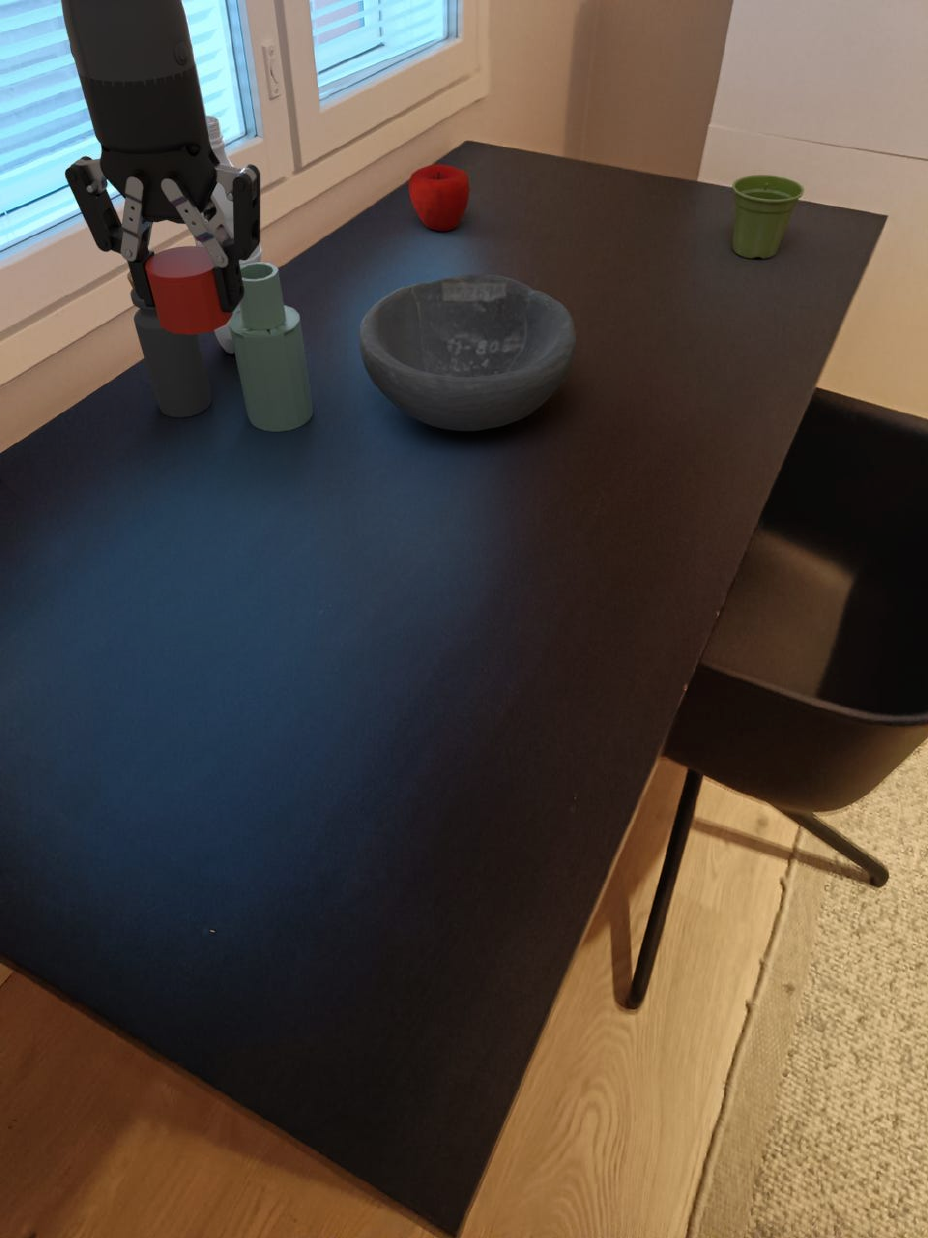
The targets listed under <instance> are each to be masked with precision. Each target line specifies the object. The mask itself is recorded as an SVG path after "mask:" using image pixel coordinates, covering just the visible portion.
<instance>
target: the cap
mask: <svg viewBox="0 0 928 1238" xmlns="http://www.w3.org/2000/svg"><path fill="white" fill-rule="evenodd" d="M154 254H155V255H153V256H152V257H150V258H149V259H148V260H147V262H146V264H145V268H146V272H147V276H148V280H149V284H150V288H151V291H152V295H153V299H154V303H155V306H156V310H157V314H158V318H159V321H160V325H161V327H162V328H163V329H165V330H168V331H170V332H172V333H174V334H187V335H194V334H197V335H199V334H204V333H210V332H214V330H215V329H217V328H220V327H222V326H224V325H226V324H227V323H228V321H229V320H230V318H231V317H232V316H233V313H228V312H222V310H221V305H220V301H219V296H218V291H217V286H216V282H215V277H214V272H213V266H214V265H215V263H214V262H213V260H212V259H211V257H210V255H209V254H208V252H207V251H206V249H205V247H200V246H196V245H185V246H176V247H170V248H167V249H164V250H161V251H158V252H157V253H154Z"/></svg>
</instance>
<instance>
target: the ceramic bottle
mask: <svg viewBox="0 0 928 1238" xmlns="http://www.w3.org/2000/svg"><path fill="white" fill-rule="evenodd" d="M240 270H241V275H242V281H243V286H244V291H245V292H244V296H243V299H242V300H241V301H240V303H239V305H240V310H241V311H239V312H237V313H235V314H234V315H233V316H232V317H231V318H230V322H229V328H230V332H231V337H232V342H233V347H234V352H235V353H234V357H235V362H236V366H237V371H238V375H239V380H240V386H241V390H242V395H243V400H244V404H245V409H246V413H247V416H248V421H249V422H250V423H251V425H252V426H254V427H255V428H256V429H259V430H261V431H265V432H272V433H281V432H287V431H292V430H295V429H298V428H300V427H302V426H304V425H305V424H306V423H308V422H309V421H310V420H311V418H312V417H313V414H314V408H313V398H312V391H311V384H310V378H309V371H308V364H307V357H306V350H305V342H304V337H303V336H304V335H303V330H302V324H301V315H300V314H299V312H297V310H296V309H295V308H293V307H290V306H288V305H285V303H284V297H283V291H282V290H283V289H282V284H281V278H280V271H279V269H278V267H277V265H275V264H272V263H270V262H263V261H262V262H261V261H260V262H254V263H248V264H244V265H242V266H240Z"/></svg>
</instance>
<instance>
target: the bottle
mask: <svg viewBox="0 0 928 1238" xmlns="http://www.w3.org/2000/svg"><path fill="white" fill-rule="evenodd" d="M126 277H127V280H128V282H129V283H130V286H131V288H132V289H131V291H130V294H129V295H130V299H131V302H132V305H134V306H135V307H136V308H137V309H138V310H137V311H136V312H135V314H134V316H133V322H134V327H135V331H136V333H137V337H138V340H139V341H138V342H139V345H140V347H141V351H142V355H143V358H144V362H145V364H146V365H145V366H146V368H147V372H148V375H149V379H150V382H151V385H152V389H153V392H154V397H155V399H156V402H157V406H158V409H159V410H160V412H161V413H162V414H164V415H165V416H168V417H172V418H189V417H192V416H196V415H199V414H201V413H203V412H204V411H206V410H208V408H210V406H211V404H212V401H213V400H212V399H213V398H212V393H211V388H210V384H209V380H208V375H207V372H206V368H205V362H204V359H203V355H202V350H201V345H200V342H199V338H198V334H194V335H187V334H174V333H172V332H170V331H168V330H165V329H163V328H162V327H161V325H160V321H159V318H158V314H157V310H156V308H154V307H146V305H145V303H144V299H140V298H139V296H138V295H137V293H136V291H135V287H134V283H133V280H132V276H131V273H130V270H129V271H128V272H127V275H126Z"/></svg>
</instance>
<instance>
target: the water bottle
mask: <svg viewBox="0 0 928 1238" xmlns="http://www.w3.org/2000/svg"><path fill="white" fill-rule="evenodd" d="M206 118H207V123H208V130H209V140H210V145H211V147H212V149H213V151H214V153H215V155H216V156H217V157H218V159H219V161H220V163H221V164H223V165H228V166H232V167H235V166H234V164H233V163H232V161H231V160H230V157H229V156H228V154H227V151H226V148H225V147H226V145H227V142H226V141H227V140H225V139H224V135H223V133H222V131H221V129H222V128H221V123H220V120H219V118H218V117H217V116H213V115H206ZM212 194H213V196H214V198H215V199H216V201H217V203H218V205H219V206H220V208H221V210H222V211H223V213H224V215H225V222H226V225H227V226H228V228H229V230H230V231H231V233H232V235H233V236H234V233H233V202H232V201H229V200H228V199H227V196H226V194H225V189H224V187H223V186H222V185H221V184H220V183H217V185H216V187H215V189H214V191H213V193H212ZM201 215H202V217H203V218H204V215H203V212H202V213H201ZM194 242H195V246H200V247H204V246H203V244H202V243H201V242H200V241H197V240H196V239H195V238H194ZM262 252H263V250H262V247H261V243H260V244H259V245H258V247H257V248H256V249H255V250H254V252H253V253H252V254H251V256H250V257H249V258H248V259H247V260H239V265H240V266H242V265H244V264H248V263H254V262H261V259H262ZM239 311H241V310H240V305H239V304H238V306H237V307H236V309H235V310H234V311H233V315H234V314H235V313H237V312H239ZM229 322H230V320H229V321H228V323H227V324H226V325H224V326H222V327H220V328H217V329H215V330H213V332H214V335H215V337H216V339H217V341H218V343H219V345H220V346H221V348H222V349H223V350H224V351H225V353H228V354H231V355H234V354H235V352H234V347H233V342H232V337H231V332H230V328H229Z"/></svg>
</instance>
